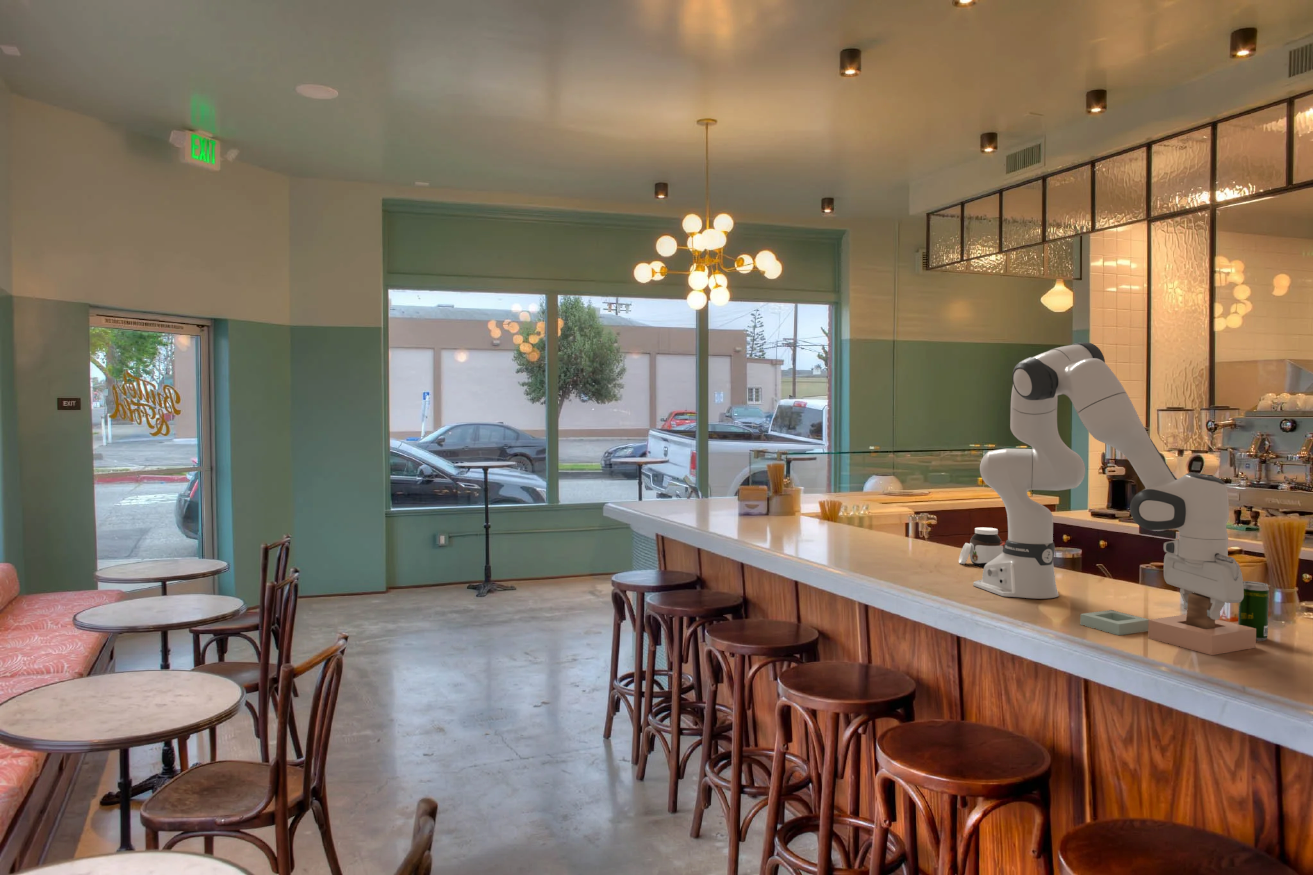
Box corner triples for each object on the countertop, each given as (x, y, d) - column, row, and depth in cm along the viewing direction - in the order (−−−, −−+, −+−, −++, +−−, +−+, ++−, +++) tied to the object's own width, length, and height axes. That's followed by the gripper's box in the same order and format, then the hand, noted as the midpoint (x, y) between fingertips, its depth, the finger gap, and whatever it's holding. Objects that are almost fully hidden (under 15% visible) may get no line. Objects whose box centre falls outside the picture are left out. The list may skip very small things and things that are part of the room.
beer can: (1269, 637, 188) (1271, 583, 187) (1265, 642, 184) (1267, 587, 183) (1240, 633, 192) (1241, 579, 191) (1235, 638, 188) (1237, 583, 187)
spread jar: (1006, 567, 268) (1007, 530, 268) (974, 569, 265) (975, 532, 265) (983, 561, 280) (983, 525, 279) (952, 562, 277) (952, 526, 277)
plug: (1184, 639, 185) (1188, 594, 184) (1192, 636, 187) (1196, 591, 186) (1205, 644, 181) (1209, 598, 181) (1213, 641, 184) (1217, 595, 183)
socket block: (1148, 637, 188) (1148, 619, 187) (1191, 631, 193) (1191, 613, 193) (1211, 655, 175) (1211, 635, 175) (1255, 647, 180) (1256, 628, 180)
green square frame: (1080, 624, 199) (1080, 613, 199) (1111, 620, 203) (1111, 609, 203) (1118, 635, 190) (1119, 624, 190) (1150, 630, 194) (1150, 619, 194)
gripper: (1253, 558, 173) (1251, 626, 174) (1185, 542, 193) (1184, 603, 194) (1223, 559, 173) (1221, 627, 173) (1158, 542, 193) (1157, 603, 194)
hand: (1201, 614), depth 184 cm, fingers open, 6 cm apart
